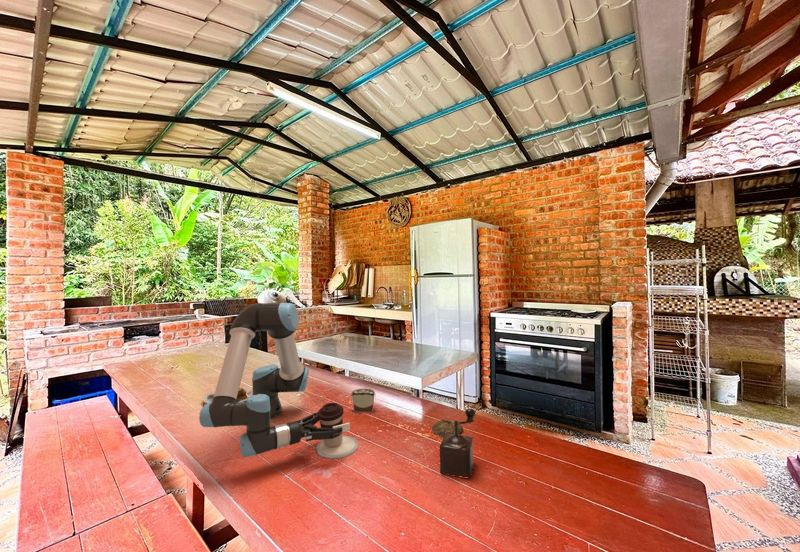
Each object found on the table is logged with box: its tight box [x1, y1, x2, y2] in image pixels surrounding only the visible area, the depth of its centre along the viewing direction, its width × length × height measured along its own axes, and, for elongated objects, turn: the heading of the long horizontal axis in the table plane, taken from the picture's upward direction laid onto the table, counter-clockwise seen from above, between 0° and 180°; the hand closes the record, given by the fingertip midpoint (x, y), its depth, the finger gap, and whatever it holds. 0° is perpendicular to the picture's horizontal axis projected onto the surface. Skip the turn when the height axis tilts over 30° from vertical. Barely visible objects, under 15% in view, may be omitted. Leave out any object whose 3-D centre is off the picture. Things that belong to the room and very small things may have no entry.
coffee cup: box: [317, 402, 344, 447], centre depth 128 cm, size 10×10×15 cm
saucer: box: [316, 435, 359, 460], centre depth 128 cm, size 16×16×1 cm
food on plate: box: [203, 386, 253, 405], centre depth 180 cm, size 25×25×7 cm
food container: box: [350, 387, 376, 413], centre depth 164 cm, size 12×6×10 cm, turn 84°
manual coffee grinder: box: [439, 408, 477, 478], centre depth 115 cm, size 16×11×18 cm
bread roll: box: [431, 418, 464, 439], centre depth 140 cm, size 13×12×5 cm
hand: (342, 419), depth 129 cm, fingers open, 13 cm apart
